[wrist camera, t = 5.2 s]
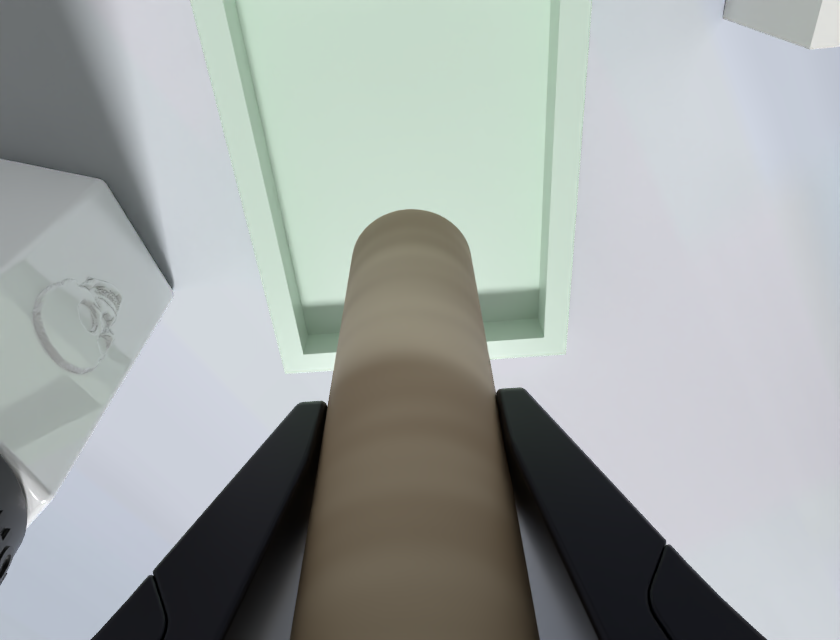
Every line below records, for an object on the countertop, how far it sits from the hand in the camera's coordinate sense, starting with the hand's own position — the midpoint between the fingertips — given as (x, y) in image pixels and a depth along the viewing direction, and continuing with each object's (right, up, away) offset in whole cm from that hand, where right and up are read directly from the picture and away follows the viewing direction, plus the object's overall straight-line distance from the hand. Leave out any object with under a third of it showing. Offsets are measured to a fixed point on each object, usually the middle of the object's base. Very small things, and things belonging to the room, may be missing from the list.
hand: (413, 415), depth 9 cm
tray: (0, +7, +10) cm, 12 cm away
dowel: (0, +3, +4) cm, 5 cm away
